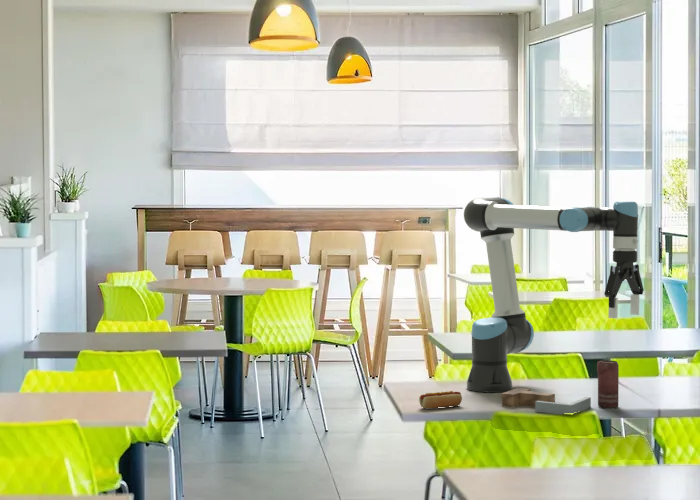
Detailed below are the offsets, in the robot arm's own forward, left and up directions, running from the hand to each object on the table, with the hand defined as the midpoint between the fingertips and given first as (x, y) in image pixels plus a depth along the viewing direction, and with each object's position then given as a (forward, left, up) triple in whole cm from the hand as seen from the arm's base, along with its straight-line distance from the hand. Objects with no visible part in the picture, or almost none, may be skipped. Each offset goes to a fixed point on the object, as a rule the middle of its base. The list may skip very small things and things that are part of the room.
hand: (623, 316), depth 341 cm
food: (-41, -46, -26) cm, 67 cm away
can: (+2, -19, -26) cm, 32 cm away
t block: (-19, -28, -26) cm, 43 cm away
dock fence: (-8, -29, -26) cm, 40 cm away
